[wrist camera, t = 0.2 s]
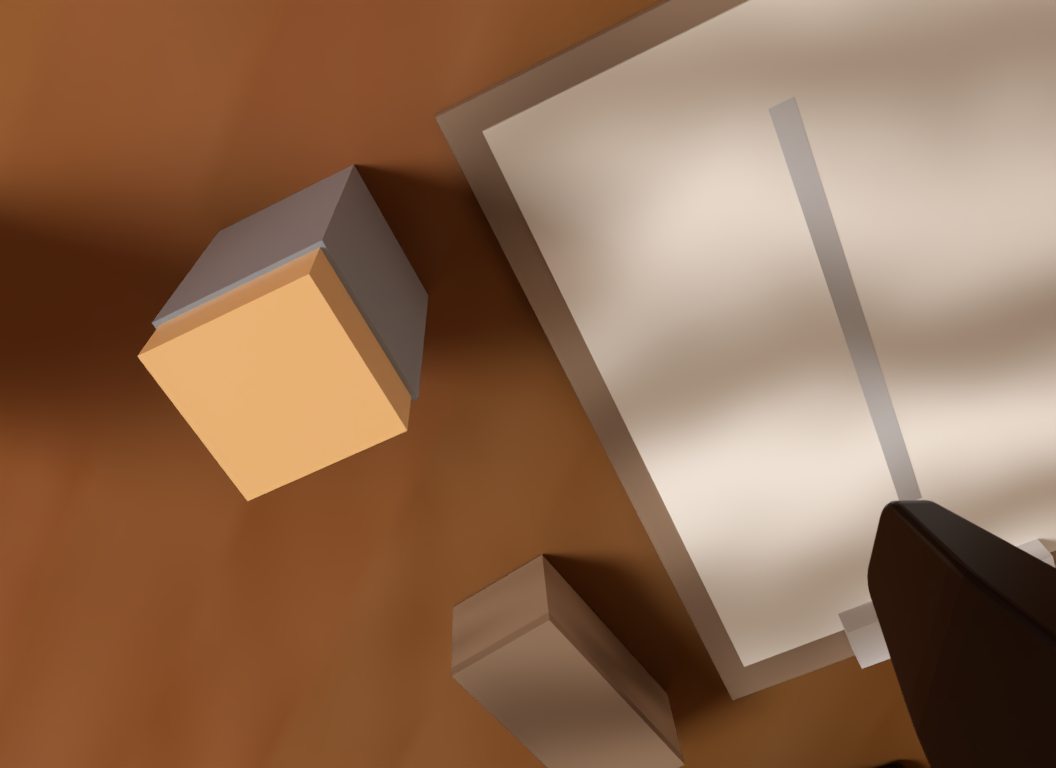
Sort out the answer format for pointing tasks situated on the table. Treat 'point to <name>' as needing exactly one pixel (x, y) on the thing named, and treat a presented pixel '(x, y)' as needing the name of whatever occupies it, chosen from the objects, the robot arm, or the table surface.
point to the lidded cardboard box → (294, 336)
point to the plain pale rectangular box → (560, 676)
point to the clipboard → (793, 287)
